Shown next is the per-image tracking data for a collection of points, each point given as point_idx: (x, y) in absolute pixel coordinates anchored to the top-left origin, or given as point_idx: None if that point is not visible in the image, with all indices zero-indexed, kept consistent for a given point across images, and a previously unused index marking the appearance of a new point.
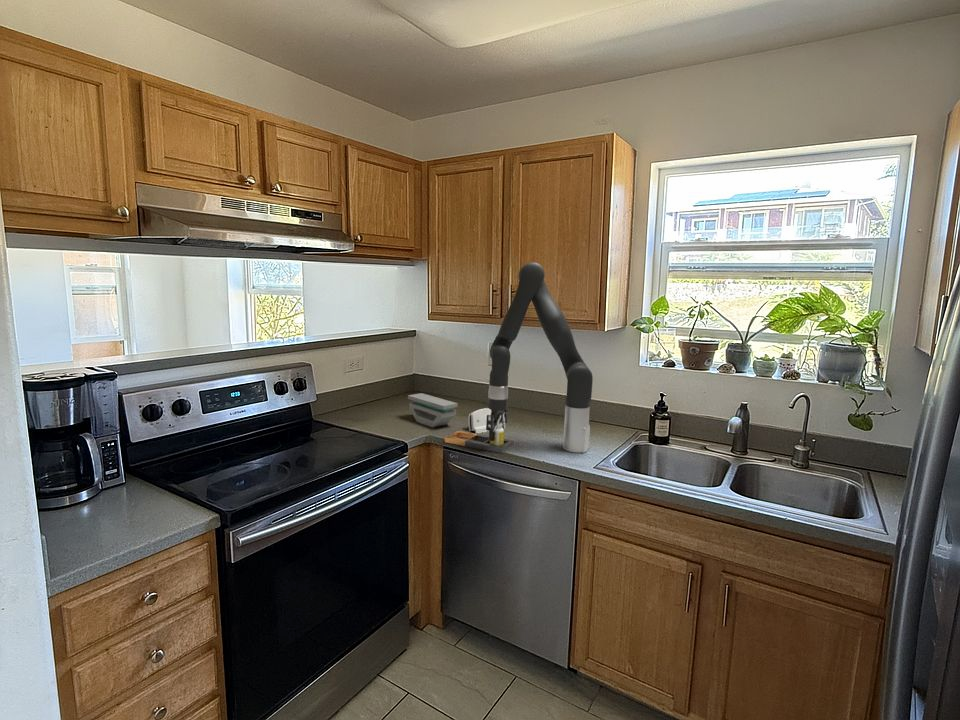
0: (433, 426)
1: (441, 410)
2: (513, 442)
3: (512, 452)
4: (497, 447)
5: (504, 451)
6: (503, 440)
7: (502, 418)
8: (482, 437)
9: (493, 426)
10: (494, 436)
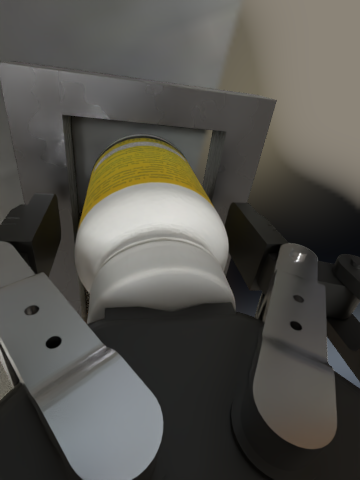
0: None
1: None
2: (24, 64)
3: (209, 11)
4: (262, 147)
5: (221, 90)
6: (139, 149)
7: (98, 346)
8: (82, 307)
9: None
10: (258, 218)
